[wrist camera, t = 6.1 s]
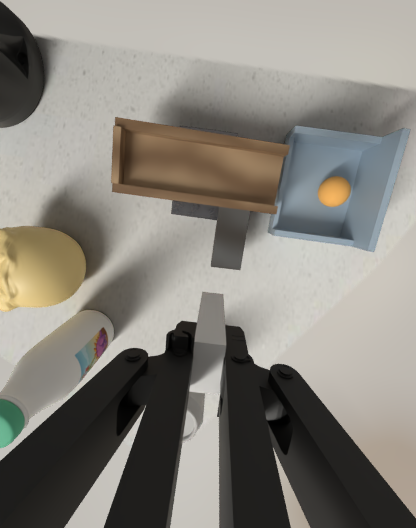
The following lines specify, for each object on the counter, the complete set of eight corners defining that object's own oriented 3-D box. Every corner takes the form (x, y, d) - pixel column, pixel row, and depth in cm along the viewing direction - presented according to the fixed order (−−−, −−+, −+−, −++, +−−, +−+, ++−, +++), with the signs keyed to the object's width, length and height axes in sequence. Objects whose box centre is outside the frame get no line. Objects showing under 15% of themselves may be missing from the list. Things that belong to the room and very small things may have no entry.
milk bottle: (63, 330, 43) (-65, 433, 24) (87, 299, 42) (-28, 381, 22) (99, 357, 44) (4, 476, 25) (124, 327, 42) (44, 430, 23)
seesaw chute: (259, 270, 35) (265, 276, 32) (115, 253, 33) (108, 258, 30) (282, 149, 31) (291, 144, 28) (121, 124, 30) (113, 115, 27)
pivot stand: (224, 220, 38) (225, 222, 33) (172, 213, 38) (166, 214, 33) (236, 135, 35) (239, 125, 31) (180, 127, 35) (175, 116, 31)
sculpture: (23, 218, 39) (-50, 223, 28) (97, 231, 39) (53, 240, 28) (23, 286, 42) (-43, 313, 31) (93, 298, 42) (51, 330, 31)
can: (161, 380, 45) (140, 442, 33) (169, 344, 43) (151, 396, 31) (201, 390, 45) (195, 455, 33) (211, 354, 43) (208, 410, 31)
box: (342, 242, 38) (374, 252, 30) (267, 232, 38) (280, 239, 30) (367, 146, 34) (410, 129, 27) (286, 135, 35) (305, 115, 27)
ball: (306, 190, 34) (329, 190, 31) (326, 170, 35) (351, 168, 31) (319, 211, 36) (342, 214, 32) (337, 192, 36) (362, 193, 33)
